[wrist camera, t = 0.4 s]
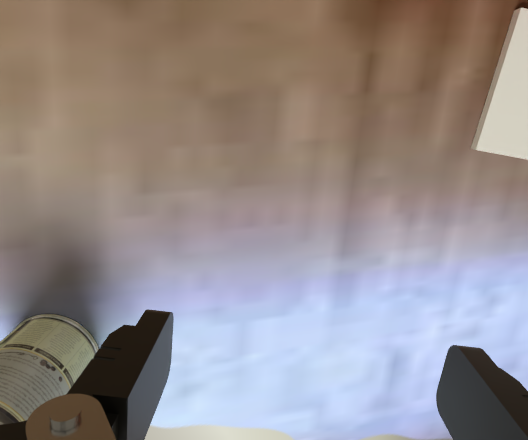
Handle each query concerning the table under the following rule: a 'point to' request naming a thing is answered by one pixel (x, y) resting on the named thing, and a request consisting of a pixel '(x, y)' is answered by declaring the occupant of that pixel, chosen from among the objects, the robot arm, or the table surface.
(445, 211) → the table surface
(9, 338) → the coffee can
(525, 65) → the pad
